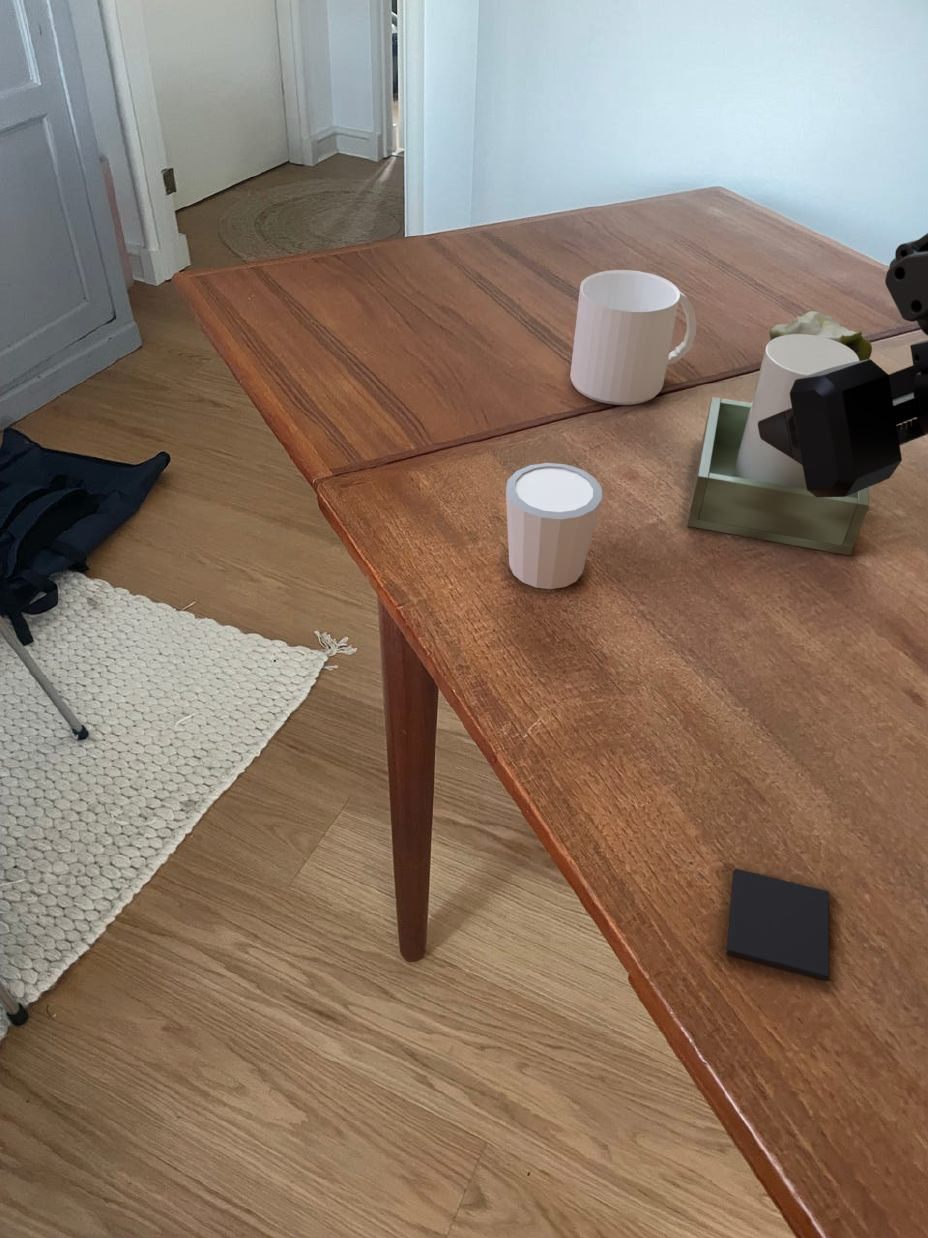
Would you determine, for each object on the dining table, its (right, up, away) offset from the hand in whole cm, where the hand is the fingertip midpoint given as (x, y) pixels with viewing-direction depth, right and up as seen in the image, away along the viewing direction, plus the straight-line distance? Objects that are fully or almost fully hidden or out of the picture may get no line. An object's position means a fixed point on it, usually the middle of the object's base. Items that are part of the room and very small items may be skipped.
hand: (814, 410), depth 58 cm
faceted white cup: (-16, -9, +13) cm, 22 cm away
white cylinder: (+4, -2, +20) cm, 20 cm away
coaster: (-5, -29, -8) cm, 31 cm away
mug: (-5, +10, +34) cm, 36 cm away
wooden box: (+4, -3, +20) cm, 21 cm away
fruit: (+13, +11, +35) cm, 39 cm away
